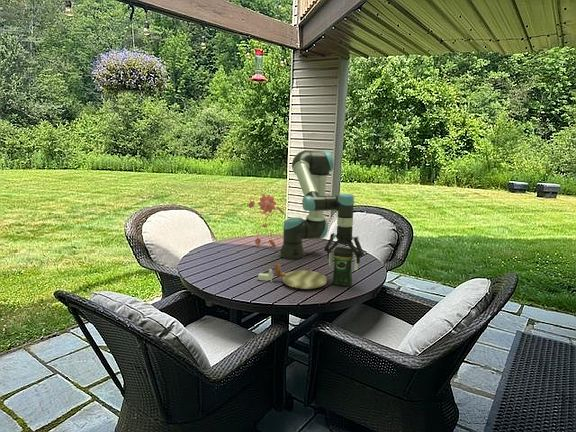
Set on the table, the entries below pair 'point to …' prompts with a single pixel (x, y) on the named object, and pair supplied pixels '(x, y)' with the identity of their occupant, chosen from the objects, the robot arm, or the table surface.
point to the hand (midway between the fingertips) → (343, 267)
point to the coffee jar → (342, 266)
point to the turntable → (301, 278)
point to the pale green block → (266, 276)
